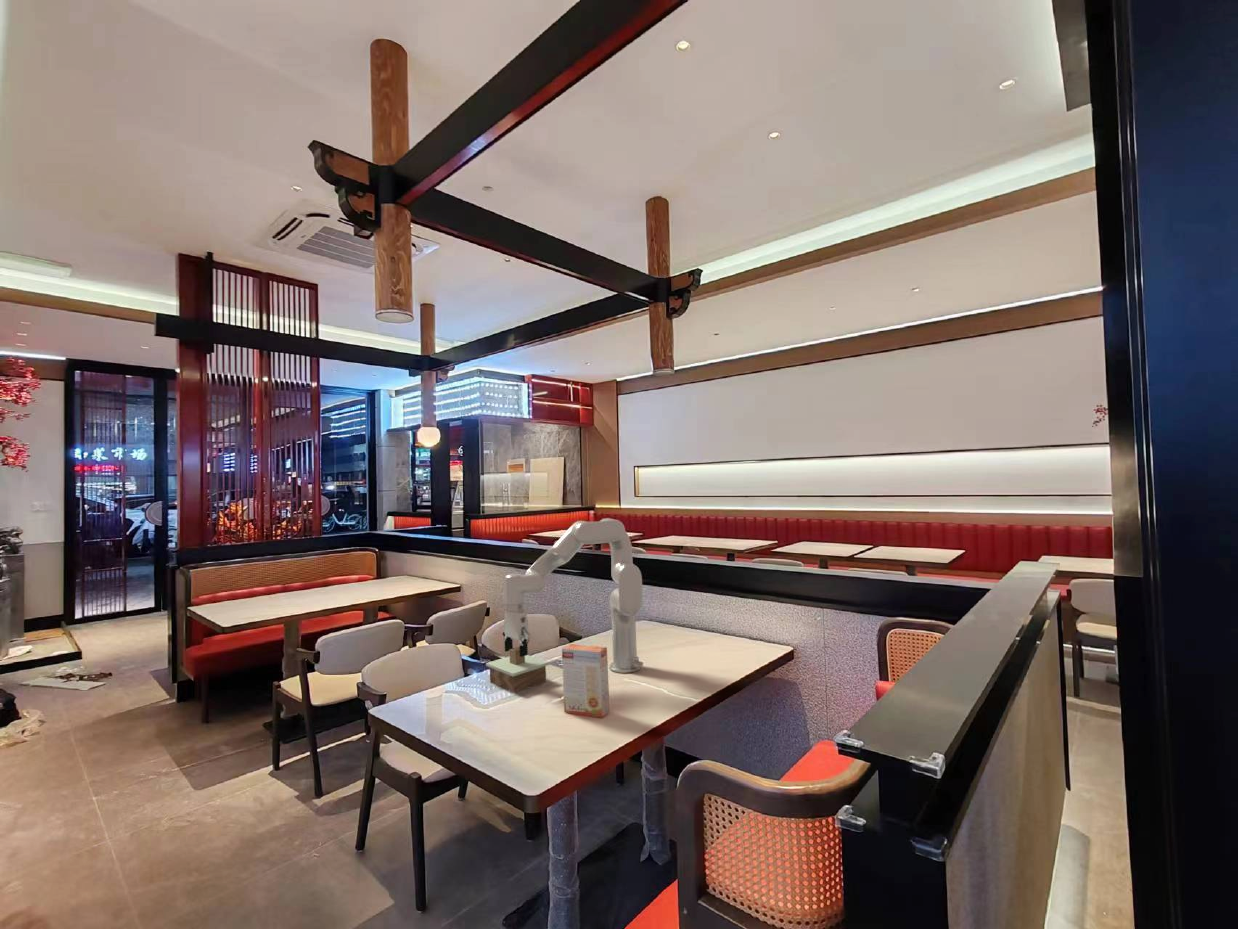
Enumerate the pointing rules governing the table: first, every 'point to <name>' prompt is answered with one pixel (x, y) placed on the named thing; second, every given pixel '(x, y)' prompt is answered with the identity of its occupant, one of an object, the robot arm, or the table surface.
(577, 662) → the cracker box
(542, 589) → the robot arm
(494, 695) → the table surface
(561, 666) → the mat
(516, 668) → the lid
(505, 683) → the crate
